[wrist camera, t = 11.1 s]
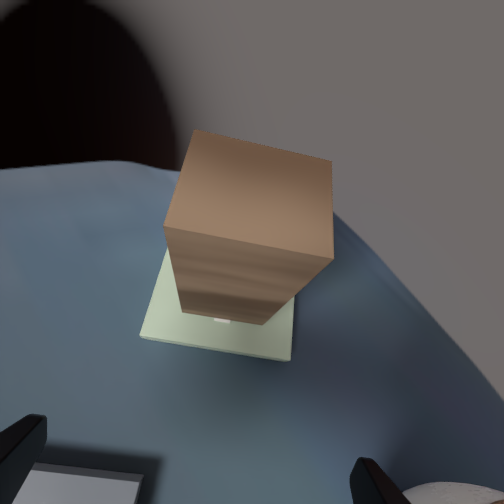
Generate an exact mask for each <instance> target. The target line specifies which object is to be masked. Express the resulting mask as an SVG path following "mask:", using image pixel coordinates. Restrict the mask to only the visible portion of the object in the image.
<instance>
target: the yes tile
mask: <svg viewBox="0 0 504 504" xmlns="http://www.w3.org/2000/svg"><path fill="white" fill-rule="evenodd" d="M293 311H294V297H293V298H291V299H290V300H289V301H288V302H287V303H286V304H285V305H284V306H283V307H282V308H281V309H280V310H279V311H277V312H276V313H275V314H274V315H273V316H272V317H271V318H270V319H269V320H268V321H267V322H266V323H265V324H263V325H257V324H250V323H244V322H238V321H232V320H226V319H220V318H213V317H207V316H201V315H195V314H189V313H182V310H181V306H180V301H179V296H178V292H177V287H176V283H175V278H174V273H173V269H172V264H171V260H170V255H169V251H168V248H167V251H166V254H165V257H164V260H163V263H162V267H161V270H160V273H159V276H158V279H157V282H156V285H155V288H154V292H153V295H152V298H151V301H150V304H149V307H148V310H147V314H146V317H145V320H144V323H143V326H142V329H141V332H140V336H141V337H142V338H143V339H149V340H155V341H161V342H167V343H173V344H179V345H185V346H191V347H197V348H203V349H209V350H215V351H221V352H227V353H233V354H240V355H246V356H252V357H258V358H264V359H270V360H276V361H282V362H287V361H290V359H291V343H292V327H293Z"/></svg>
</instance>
